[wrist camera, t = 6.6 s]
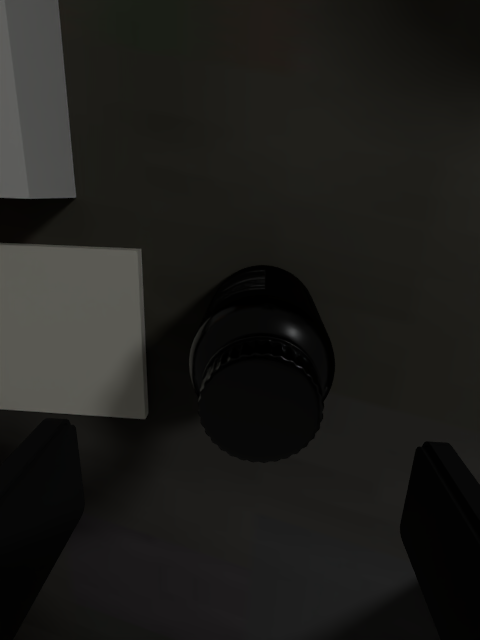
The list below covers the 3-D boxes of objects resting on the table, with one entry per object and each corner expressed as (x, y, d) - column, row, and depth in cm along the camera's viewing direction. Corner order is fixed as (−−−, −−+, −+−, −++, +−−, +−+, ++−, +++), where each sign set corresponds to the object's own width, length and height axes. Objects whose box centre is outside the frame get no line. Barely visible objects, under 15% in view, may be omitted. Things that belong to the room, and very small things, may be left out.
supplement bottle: (205, 352, 27) (158, 468, 16) (219, 255, 25) (177, 306, 14) (303, 370, 27) (327, 499, 16) (326, 273, 25) (373, 340, 14)
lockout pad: (148, 413, 29) (145, 419, 28) (-9, 402, 30) (-16, 408, 29) (141, 248, 25) (137, 250, 24) (-38, 241, 26) (-47, 242, 25)
